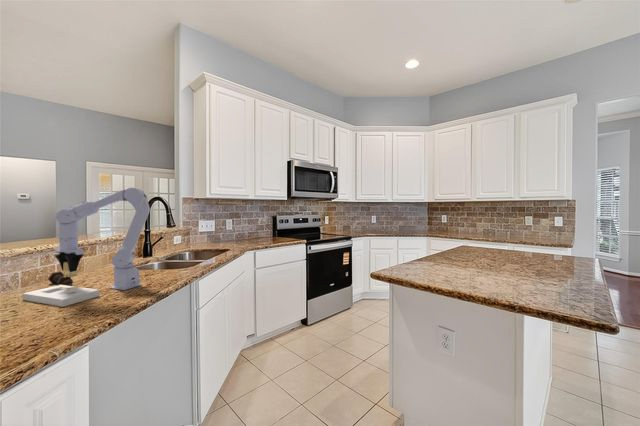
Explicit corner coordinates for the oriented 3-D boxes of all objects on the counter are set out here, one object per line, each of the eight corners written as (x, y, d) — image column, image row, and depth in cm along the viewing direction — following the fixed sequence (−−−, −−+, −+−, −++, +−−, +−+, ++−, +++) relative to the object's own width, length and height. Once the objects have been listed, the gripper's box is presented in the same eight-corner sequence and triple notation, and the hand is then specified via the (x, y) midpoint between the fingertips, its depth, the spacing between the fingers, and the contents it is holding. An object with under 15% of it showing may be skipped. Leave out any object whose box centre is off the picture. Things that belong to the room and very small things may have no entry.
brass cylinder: (78, 275, 114) (78, 261, 114) (67, 277, 110) (67, 262, 110) (72, 274, 115) (72, 260, 115) (61, 276, 111) (60, 262, 111)
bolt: (66, 291, 120) (54, 285, 128) (78, 283, 124) (66, 278, 131) (57, 282, 117) (45, 276, 125) (70, 274, 121) (58, 269, 129)
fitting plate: (99, 295, 108) (99, 289, 107) (62, 306, 96) (62, 299, 96) (61, 290, 115) (60, 284, 115) (22, 299, 104) (22, 292, 104)
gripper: (45, 238, 111) (46, 271, 111) (68, 240, 106) (69, 274, 106) (66, 237, 117) (67, 268, 118) (88, 238, 113) (89, 270, 113)
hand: (69, 271), depth 112 cm, fingers closed on brass cylinder, 4 cm apart
